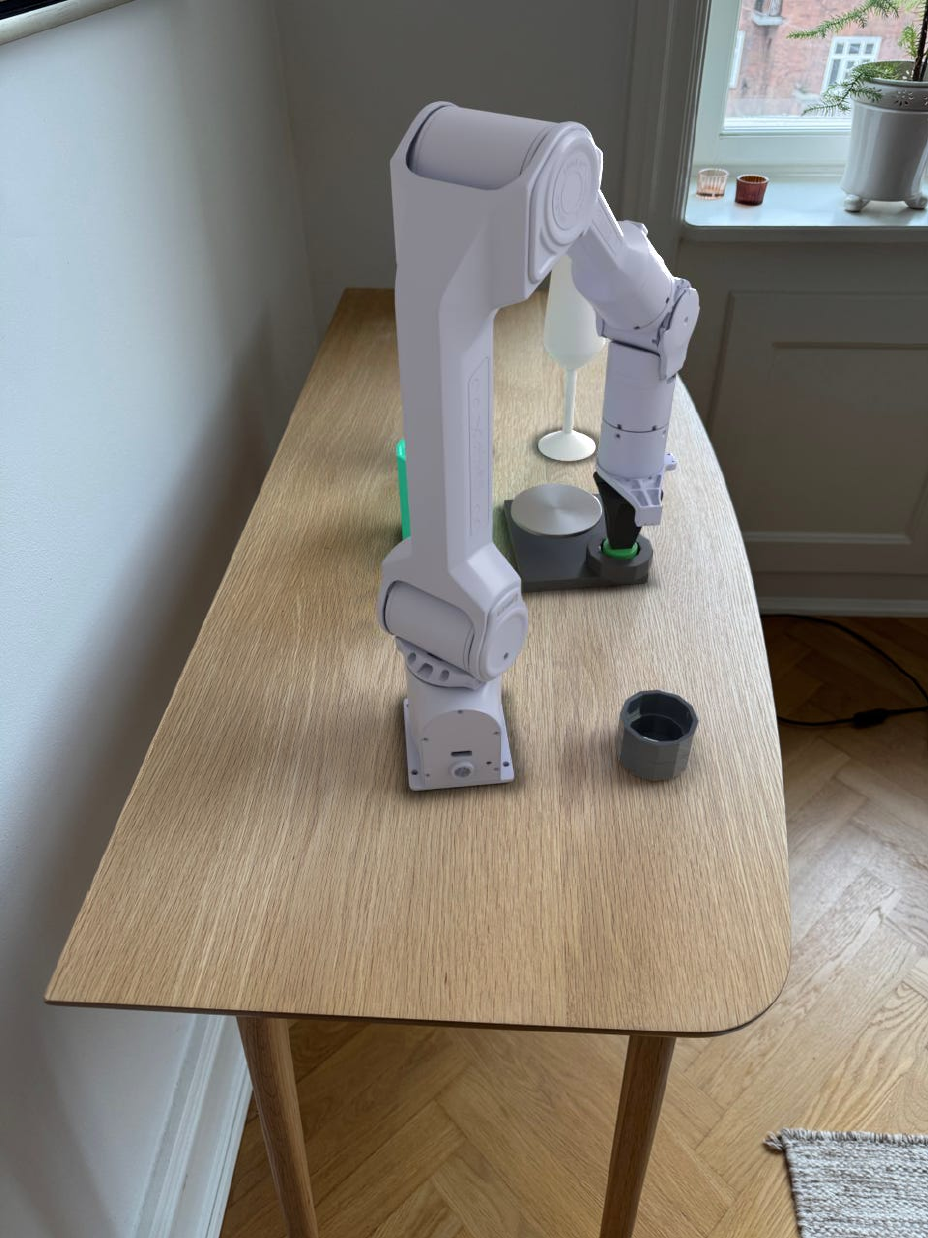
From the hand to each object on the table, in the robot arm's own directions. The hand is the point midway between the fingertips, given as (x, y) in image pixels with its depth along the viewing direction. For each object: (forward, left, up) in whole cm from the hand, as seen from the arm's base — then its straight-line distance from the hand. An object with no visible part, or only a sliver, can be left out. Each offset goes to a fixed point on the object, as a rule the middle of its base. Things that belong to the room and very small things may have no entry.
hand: (620, 544), depth 86 cm
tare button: (0, 0, -2) cm, 2 cm away
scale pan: (+6, +5, 0) cm, 8 cm away
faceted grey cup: (-23, +3, -3) cm, 23 cm away
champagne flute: (+24, +1, -3) cm, 24 cm away
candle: (+8, +18, -3) cm, 20 cm away
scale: (+5, +4, -3) cm, 7 cm away
